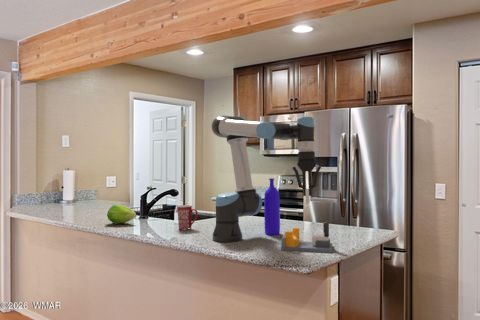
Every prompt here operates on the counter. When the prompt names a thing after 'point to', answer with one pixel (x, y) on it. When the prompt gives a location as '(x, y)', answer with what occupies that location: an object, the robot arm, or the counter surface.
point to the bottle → (272, 210)
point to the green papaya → (120, 214)
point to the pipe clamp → (292, 238)
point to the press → (308, 246)
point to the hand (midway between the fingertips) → (307, 203)
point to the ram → (322, 237)
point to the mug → (185, 216)
